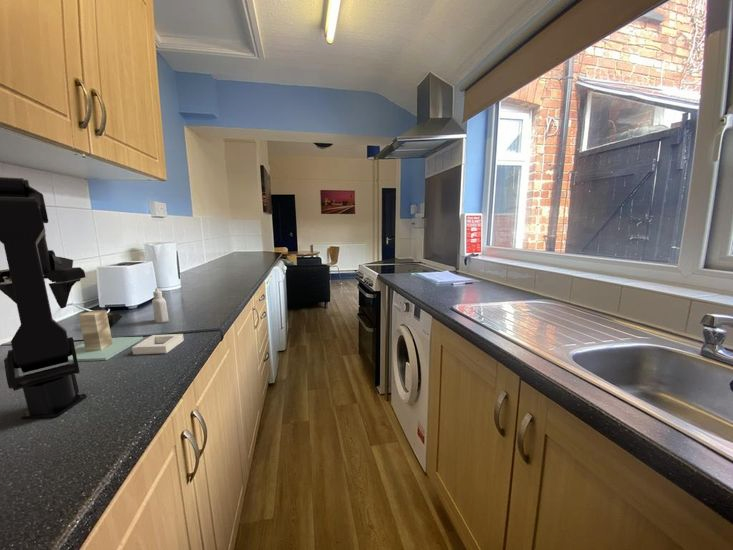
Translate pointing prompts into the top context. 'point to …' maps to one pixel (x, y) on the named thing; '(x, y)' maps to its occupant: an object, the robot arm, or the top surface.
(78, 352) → the pad
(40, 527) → the top surface
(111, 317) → the tape measure
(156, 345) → the beige square frame
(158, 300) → the eye dropper bottle
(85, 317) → the peg
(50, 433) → the top surface
